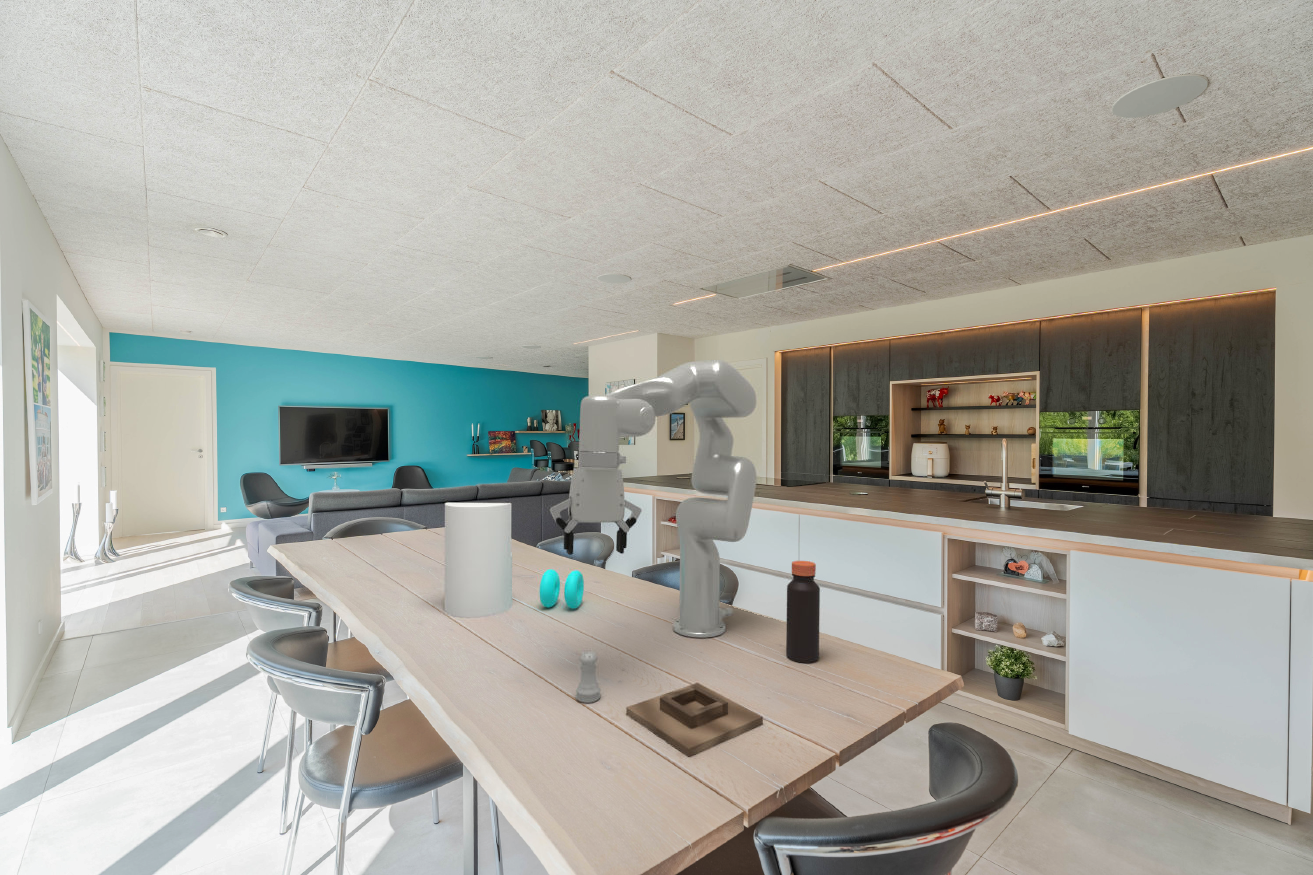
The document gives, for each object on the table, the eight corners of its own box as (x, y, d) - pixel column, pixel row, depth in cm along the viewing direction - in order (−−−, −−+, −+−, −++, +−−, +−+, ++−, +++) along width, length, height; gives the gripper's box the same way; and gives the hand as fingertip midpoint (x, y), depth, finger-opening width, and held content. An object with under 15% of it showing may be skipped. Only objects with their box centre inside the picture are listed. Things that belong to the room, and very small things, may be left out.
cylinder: (501, 618, 148) (502, 507, 147) (433, 617, 148) (434, 506, 147) (518, 598, 165) (519, 499, 164) (457, 597, 165) (458, 498, 165)
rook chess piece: (576, 692, 106) (576, 648, 106) (600, 691, 106) (601, 648, 106) (574, 704, 102) (575, 658, 102) (600, 703, 102) (600, 657, 102)
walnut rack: (697, 688, 108) (697, 671, 108) (762, 723, 95) (763, 704, 95) (626, 714, 98) (626, 695, 98) (688, 756, 86) (688, 735, 86)
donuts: (550, 600, 163) (550, 565, 163) (584, 602, 161) (585, 566, 161) (537, 611, 153) (538, 573, 153) (574, 613, 151) (575, 575, 151)
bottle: (821, 654, 125) (822, 561, 125) (816, 665, 119) (817, 568, 119) (789, 649, 128) (790, 558, 128) (782, 660, 122) (784, 564, 122)
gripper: (636, 462, 116) (633, 548, 116) (549, 459, 111) (545, 550, 110) (648, 463, 109) (645, 555, 109) (555, 461, 104) (551, 557, 103)
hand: (595, 552), depth 110 cm, fingers open, 9 cm apart
